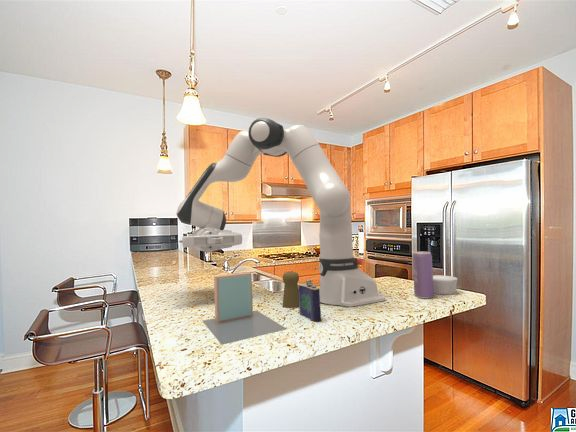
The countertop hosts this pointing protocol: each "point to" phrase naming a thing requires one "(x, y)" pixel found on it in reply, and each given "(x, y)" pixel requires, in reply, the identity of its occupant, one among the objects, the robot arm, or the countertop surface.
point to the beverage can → (423, 275)
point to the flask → (309, 301)
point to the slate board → (243, 328)
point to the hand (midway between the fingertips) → (218, 240)
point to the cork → (291, 290)
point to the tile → (233, 296)
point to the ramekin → (444, 284)
